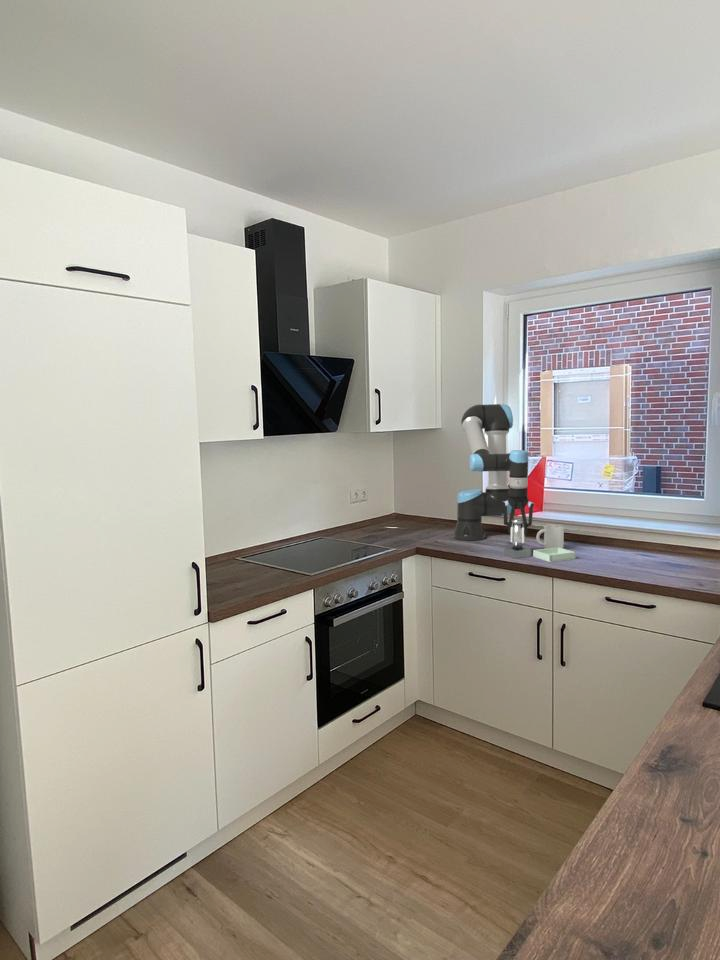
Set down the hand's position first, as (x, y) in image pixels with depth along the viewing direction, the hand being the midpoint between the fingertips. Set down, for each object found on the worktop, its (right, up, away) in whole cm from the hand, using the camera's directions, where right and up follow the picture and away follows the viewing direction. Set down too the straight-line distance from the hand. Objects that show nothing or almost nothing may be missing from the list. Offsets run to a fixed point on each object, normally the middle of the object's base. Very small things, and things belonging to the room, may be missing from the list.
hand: (517, 541), depth 262 cm
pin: (0, -4, 0) cm, 4 cm away
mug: (+17, -5, +12) cm, 22 cm away
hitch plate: (0, -6, 0) cm, 6 cm away
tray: (+14, -6, -5) cm, 16 cm away
